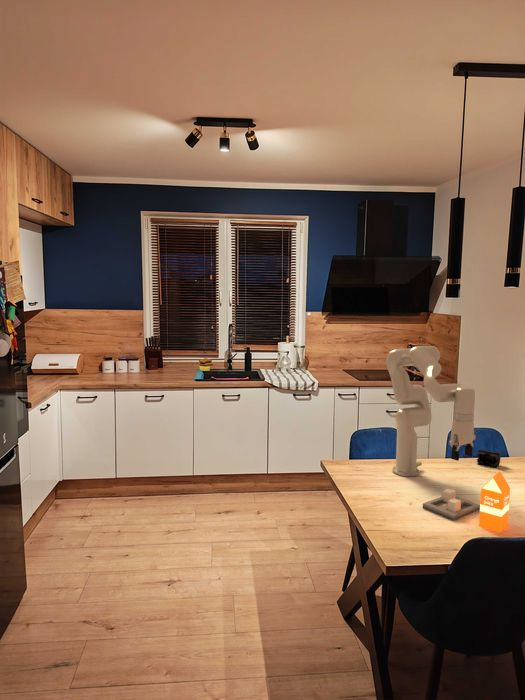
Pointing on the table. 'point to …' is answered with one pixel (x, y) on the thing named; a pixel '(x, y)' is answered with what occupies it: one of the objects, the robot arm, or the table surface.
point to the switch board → (442, 509)
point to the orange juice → (494, 504)
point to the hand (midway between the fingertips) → (461, 457)
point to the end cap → (488, 459)
